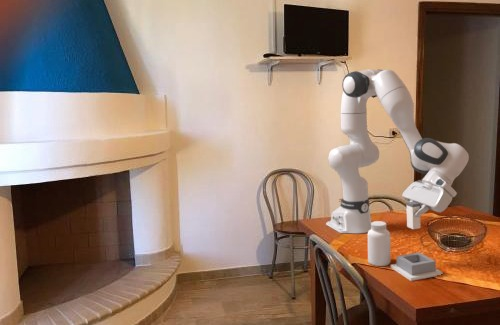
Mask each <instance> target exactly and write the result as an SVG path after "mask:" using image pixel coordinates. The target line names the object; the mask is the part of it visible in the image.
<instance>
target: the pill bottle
mask: <svg viewBox="0 0 500 325" xmlns="http://www.w3.org/2000/svg"><path fill="white" fill-rule="evenodd" d="M371 222H372V223H371V229H370V230H369V231H368V232H367V261H368V264H370V265H372V266H376V267H386V266H388V264H389V265H391V261H392V260H391V256H392V255H391V232H390V231H389V230H388V229H387V223H386V222H385V221H383V220H382V221H381V220H380V221H379V220H376V221H375V220H374V221H371Z"/></svg>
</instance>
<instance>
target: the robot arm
mask: <svg viewBox="0 0 500 325" xmlns="http://www.w3.org/2000/svg"><path fill="white" fill-rule="evenodd" d="M341 85H342V86H341V87H342V90H343V92H342V93H341V94H342V95H341V100H340V131H341V132H342V133H343V134H344V135H345V136H346V137H348V140H349V144H346V145H345V144H344V145H340V146H337V147H335V148H332V149H331V150H330V151H329V153H328V157H327V160H328V164H329V166H330V168H331V169H332V170H334V171H335V172H336V173H337V174H338V176H339V179H340V181H341V187H342V198H339V199H338V200H339V202H340V206H338V207H337V208H336V209H334V210H333V211H332V212H331V214H330V215H331V216H330V220H328V221H327V222H326V223H325V225H326V226H328V227H329V228H331V229H333V230H335V231H336V232H337V233H340V234H365V233H368V231H369V230H370V229H371V223H372V222H373V221H372V217H371V216H372V214H371V210H370V198H369V190H368V189H369V186H368V185H369V183H368V181H367V180H366V179H365V177H363V176H361V174H360V170H359V169H360V168H363V167H369V166H371V165H373V164H375V163H376V162H378V160H379V158H380V150H379V147H378V146H377V145H376V144H375V143H374V142H373V141H372V139H371V138H370V134H369V131H368V120H367V119H368V118H367V115H368V114H367V102H368V100H369V99H370V98H373V99H374V98H376V97H377V99H378V101H379V103H380V104H381V106H382V108H383V109H384V110H385V112H386V114H387V115H388V117H389V118H390V119H391V121H392V122H393V124H394V126H396V128H397V130H398V133H399V134H400V135H401V137H402V140H403V142H404V144H405V145H406V147H407V149H408V151H409V157H410V165H411V167H412V169H413V170H414V171H415V172H417V173H419V174H422V175H424V177H423V178H422V179H418V180H416V181H414V182H411V183H410V185H408V186H407V188H405V190H404V191H403V192H402V195H401V197H402V198H403V199H404V200H405V201H406V202H413V201H414V202H417V203H420V209H419V210H418V211H417V210H416V211H415V213H414V215H415V216H416V217H418V218H419V217H420V218H421V217H422V215H423V214H425V213H427V212H428V211H429V210H431V211H434V212H437V213H439V214H440V213H442V212H444V211H445V210H446V209H447V208H448V207H449V205H450V203H451V202H452V200H453V198H455V197H456V196H457V194H458V192H457V191H456V190H455V189H454V188H453V187H452V185H453V182H454V181H455V179H456V178H457V177H458V176H460V174H461V173H462V172H463V171H464V169H465V167H466V166H467V164H468V162H469V158H470V156H469V153H468V151H467V150H466V149H465V147H464V146H462V145H461V144H459V143H455V142H453V143H449V142H448V143H447V142H442V141H439V140H435V139H433V138H430V137H424V138H422V136H421V134H420V132H419V129H418V128H417V126H416V123H415V114H414V112H415V111H414V110H415V105H414V104H415V103H414V100H413V97H412V95H411V92H410V91H409V89H408V88H407V86H406V84H405V83H404V81H403V80H402V79H401V77H400V76H399V75H398V74H397V73H396V72H395V71H394V70H392V69H384V70H383V69H364V70H359V71H357V70H356V71H355V70H354V71H351V72H349V73H346V74H345V76H344V77H343V79H342V84H341ZM405 212H406V213H407V208H406V209H405Z"/></svg>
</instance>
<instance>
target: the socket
mask: <svg viewBox="0 0 500 325" xmlns="http://www.w3.org/2000/svg"><path fill="white" fill-rule="evenodd" d="M436 266H437V265H436V260H434V259H432V257H431V258H430V257H429V256H427V255H425V254H423V253H422V252H420V251H419V252H412V253H408V254H401V255H396V263H392V264H390V268H391V269H392V270H393V271H395V272H396V273H399V274H400V275H401V276H402V277H404V278H406V279H407V280H409V281H410V282H413V281H418V280H423V279H427V278H433V277H438V276H437V275H439V274H443V271H442V270H440V269H439V268H436ZM443 275H444V274H443Z"/></svg>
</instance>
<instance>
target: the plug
mask: <svg viewBox="0 0 500 325" xmlns="http://www.w3.org/2000/svg"><path fill="white" fill-rule="evenodd" d="M406 209H407V212H406V227H407V228H409V229H411V230H417V229H421V216H420V217H419V218H418V217H416V216H415V215H414V213H415V211H416V210H417V211H418V210H419V209H421V206H420V203H417V202H414V201H413V202H408V201H406Z"/></svg>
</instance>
